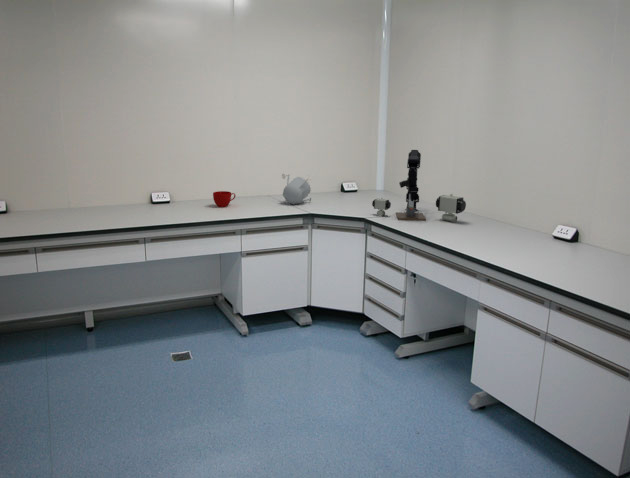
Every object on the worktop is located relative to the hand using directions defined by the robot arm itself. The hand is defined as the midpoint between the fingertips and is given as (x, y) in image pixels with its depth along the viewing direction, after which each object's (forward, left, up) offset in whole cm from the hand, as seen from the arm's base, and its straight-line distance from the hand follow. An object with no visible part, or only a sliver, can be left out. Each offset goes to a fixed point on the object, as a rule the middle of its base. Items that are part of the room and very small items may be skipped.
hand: (411, 199), depth 360 cm
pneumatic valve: (+10, -17, -12) cm, 23 cm away
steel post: (0, 0, -6) cm, 6 cm away
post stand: (0, 0, -12) cm, 12 cm away
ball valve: (-12, +23, -12) cm, 29 cm away
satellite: (+27, -85, -12) cm, 91 cm away
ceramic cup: (+75, -110, -12) cm, 134 cm away
